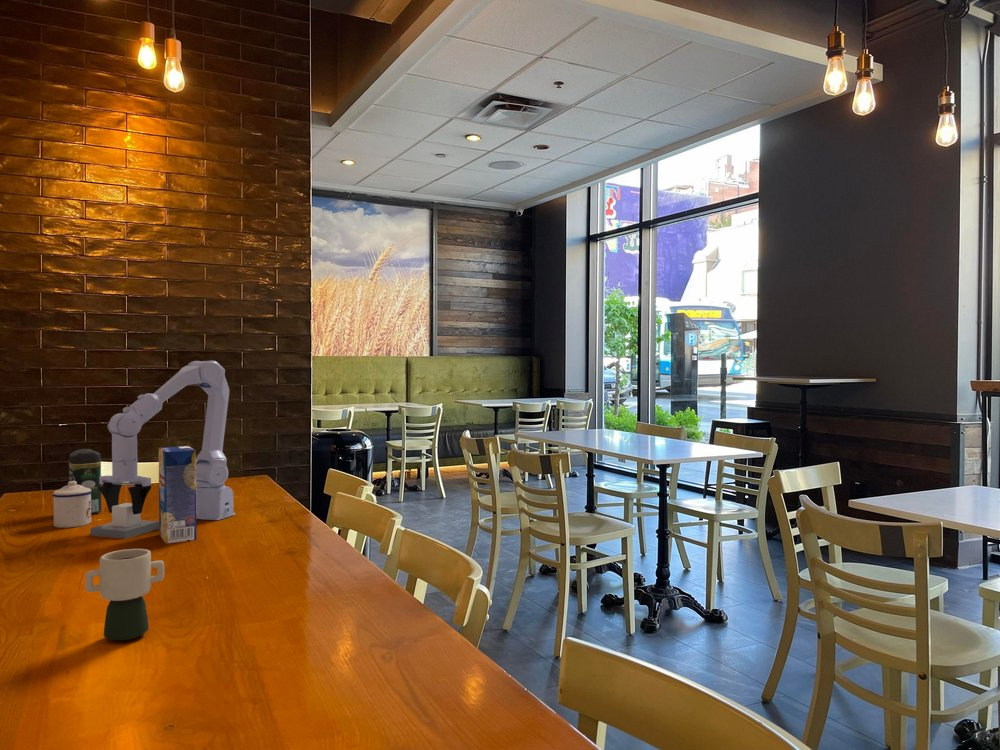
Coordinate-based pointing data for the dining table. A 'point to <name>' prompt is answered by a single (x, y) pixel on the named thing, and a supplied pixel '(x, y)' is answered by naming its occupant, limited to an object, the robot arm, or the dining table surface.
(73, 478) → the coffee jar
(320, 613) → the dining table surface
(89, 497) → the teacup with lid
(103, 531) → the slate block
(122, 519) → the cream cube
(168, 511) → the beverage box
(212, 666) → the dining table surface
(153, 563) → the character mug
